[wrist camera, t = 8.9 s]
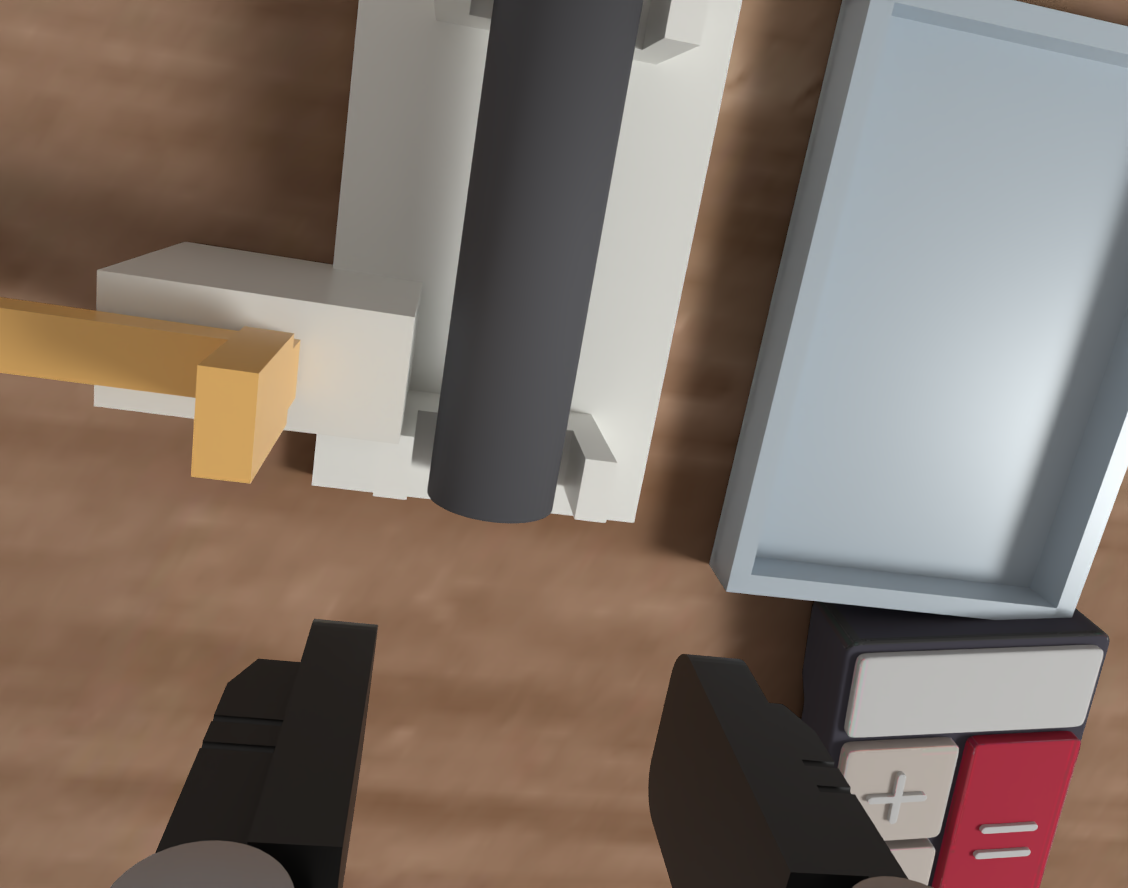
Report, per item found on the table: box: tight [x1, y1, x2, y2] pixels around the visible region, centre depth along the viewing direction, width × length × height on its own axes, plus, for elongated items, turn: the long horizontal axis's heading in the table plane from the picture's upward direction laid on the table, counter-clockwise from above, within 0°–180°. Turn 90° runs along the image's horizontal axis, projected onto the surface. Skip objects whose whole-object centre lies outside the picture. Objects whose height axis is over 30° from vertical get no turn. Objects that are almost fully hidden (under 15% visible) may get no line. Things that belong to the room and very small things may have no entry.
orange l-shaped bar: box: [0, 297, 300, 483], centre depth 20 cm, size 2×12×6 cm, turn 80°
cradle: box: [94, 0, 742, 523], centre depth 27 cm, size 20×17×8 cm
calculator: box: [801, 601, 1109, 888], centre depth 39 cm, size 11×4×15 cm
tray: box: [709, 0, 1128, 620], centre depth 34 cm, size 22×15×2 cm
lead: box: [427, 0, 643, 523], centre depth 26 cm, size 16×4×4 cm, turn 170°
